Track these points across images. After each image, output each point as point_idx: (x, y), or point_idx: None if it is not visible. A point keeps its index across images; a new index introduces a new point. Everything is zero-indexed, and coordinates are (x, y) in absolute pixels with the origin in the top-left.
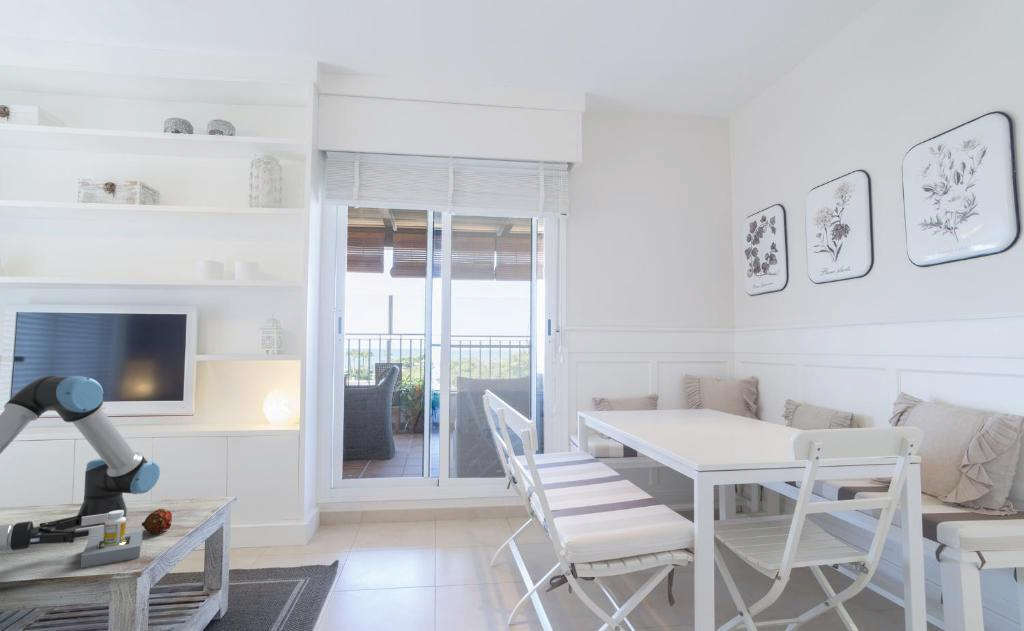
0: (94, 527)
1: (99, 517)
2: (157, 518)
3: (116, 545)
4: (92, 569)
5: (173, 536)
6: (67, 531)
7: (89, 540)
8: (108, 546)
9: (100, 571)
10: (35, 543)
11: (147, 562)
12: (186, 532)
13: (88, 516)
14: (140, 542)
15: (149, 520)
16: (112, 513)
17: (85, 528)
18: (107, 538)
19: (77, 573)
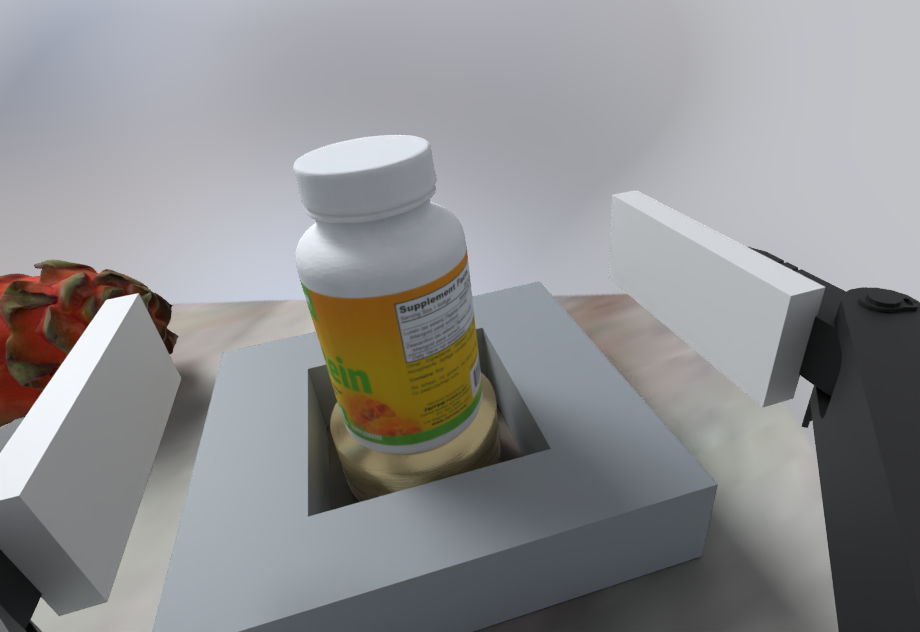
0: (679, 218)
1: (130, 364)
2: (122, 296)
3: (483, 374)
4: (724, 465)
5: (258, 323)
6: (917, 345)
7: (213, 629)
8: (491, 406)
9: (752, 411)
10: None
11: (615, 296)
12: (230, 303)
13: (61, 420)
14: (474, 296)
15: (74, 340)
16: (417, 148)
17: (738, 244)
18: (475, 366)
19: (818, 525)
